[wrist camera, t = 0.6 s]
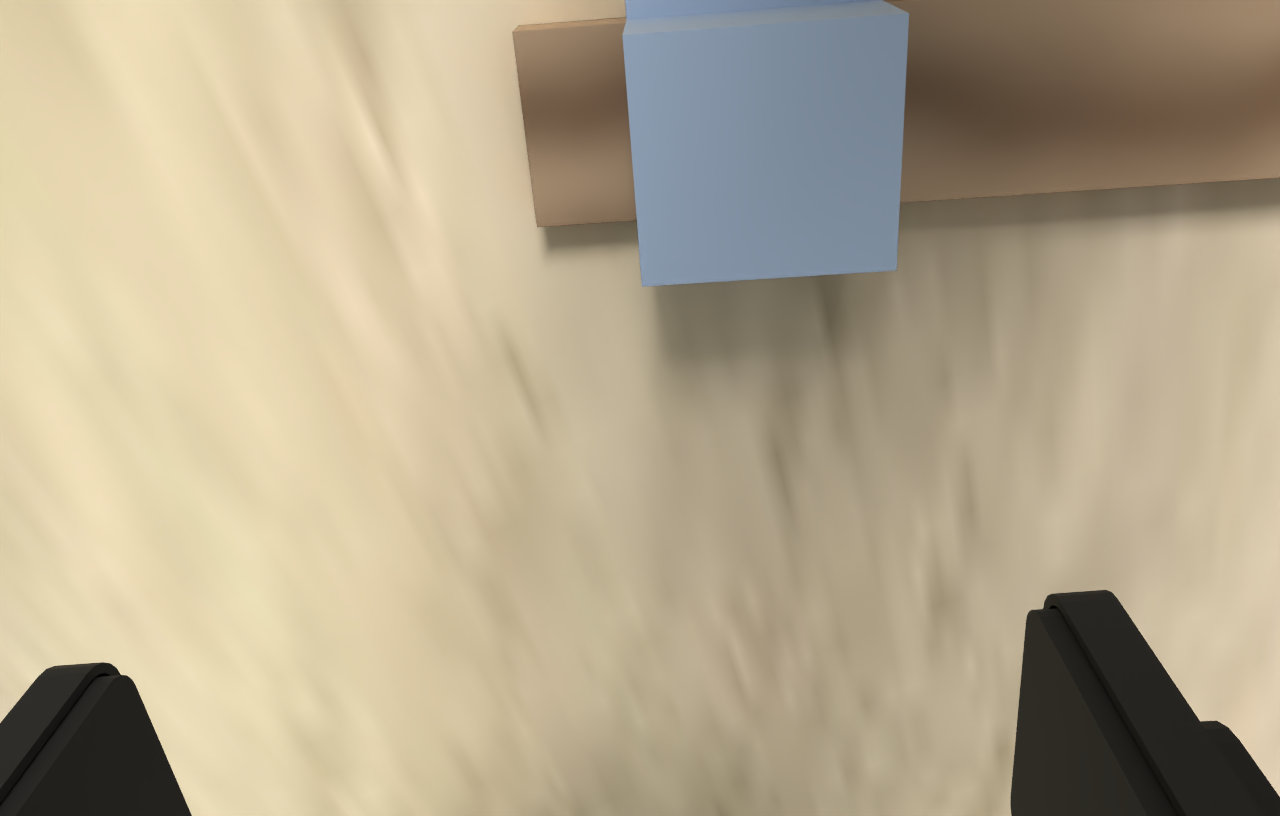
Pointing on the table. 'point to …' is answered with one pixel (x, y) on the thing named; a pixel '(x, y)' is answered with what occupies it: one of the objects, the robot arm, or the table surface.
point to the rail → (970, 101)
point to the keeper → (765, 136)
